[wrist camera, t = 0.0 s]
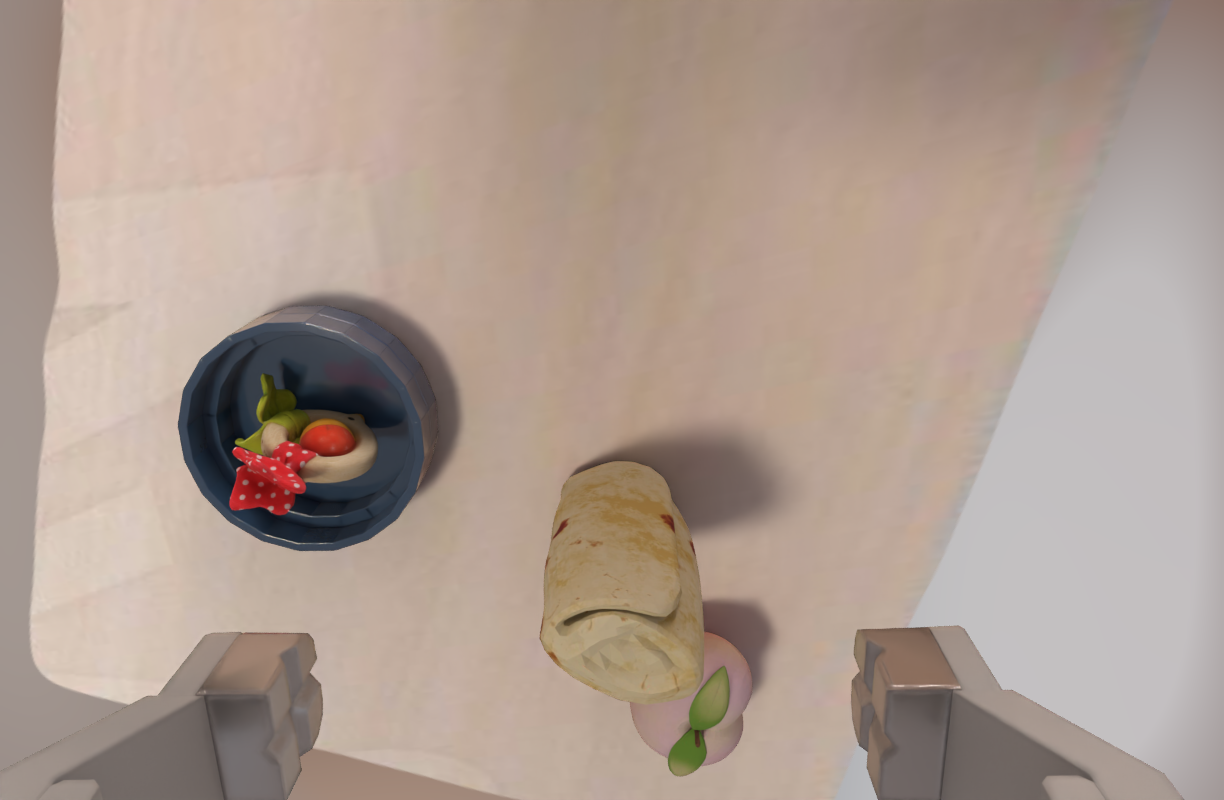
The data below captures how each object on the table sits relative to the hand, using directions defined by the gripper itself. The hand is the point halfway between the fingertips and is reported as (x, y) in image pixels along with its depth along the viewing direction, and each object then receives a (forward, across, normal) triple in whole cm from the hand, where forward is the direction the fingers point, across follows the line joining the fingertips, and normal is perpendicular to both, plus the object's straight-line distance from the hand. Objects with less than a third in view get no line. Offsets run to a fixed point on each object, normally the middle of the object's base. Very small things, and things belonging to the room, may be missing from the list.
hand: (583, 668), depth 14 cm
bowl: (+48, +21, +13) cm, 54 cm away
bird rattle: (+48, +21, +13) cm, 54 cm away
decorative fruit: (+48, -4, +32) cm, 58 cm away
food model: (+48, 0, +19) cm, 52 cm away
